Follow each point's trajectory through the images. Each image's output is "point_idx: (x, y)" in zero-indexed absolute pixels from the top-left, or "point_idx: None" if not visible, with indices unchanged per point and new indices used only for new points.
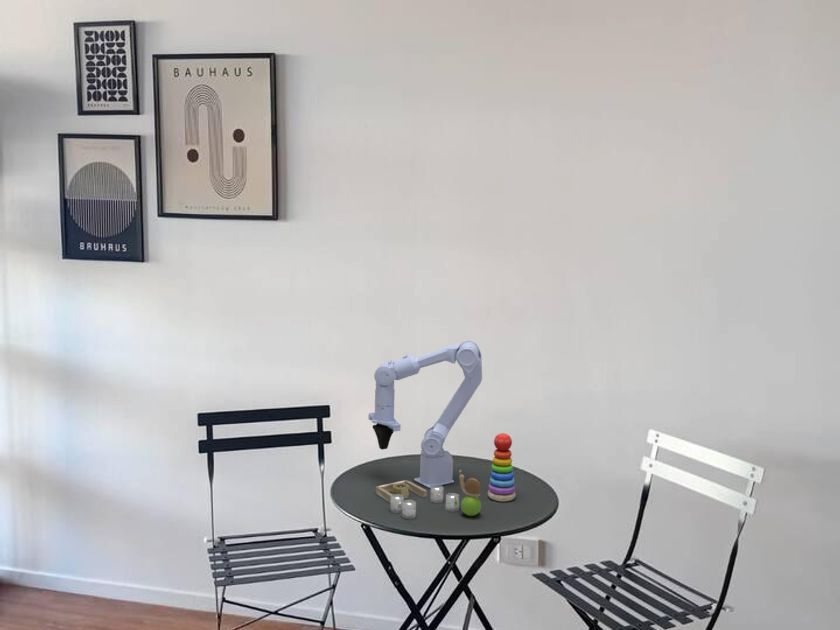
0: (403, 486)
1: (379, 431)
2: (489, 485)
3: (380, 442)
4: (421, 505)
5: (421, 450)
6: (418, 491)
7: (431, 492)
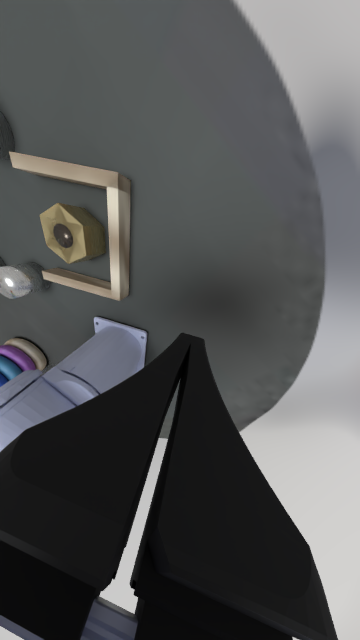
0: (56, 238)
1: (91, 438)
2: (12, 355)
3: (174, 353)
4: (21, 228)
5: (93, 396)
6: (67, 274)
7: (11, 266)
